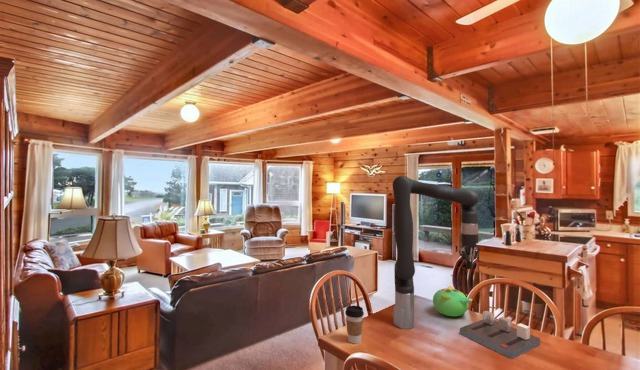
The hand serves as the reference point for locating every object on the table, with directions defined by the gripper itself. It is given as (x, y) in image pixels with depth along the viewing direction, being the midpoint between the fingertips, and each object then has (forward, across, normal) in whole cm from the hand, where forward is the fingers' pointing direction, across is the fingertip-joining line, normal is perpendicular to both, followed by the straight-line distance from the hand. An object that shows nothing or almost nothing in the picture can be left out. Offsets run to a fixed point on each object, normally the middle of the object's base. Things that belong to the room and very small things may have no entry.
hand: (469, 268), depth 148 cm
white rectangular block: (+28, -12, +18) cm, 35 cm away
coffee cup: (+31, +51, -22) cm, 64 cm away
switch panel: (+31, -7, +10) cm, 33 cm away
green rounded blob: (+31, -10, -18) cm, 37 cm away
